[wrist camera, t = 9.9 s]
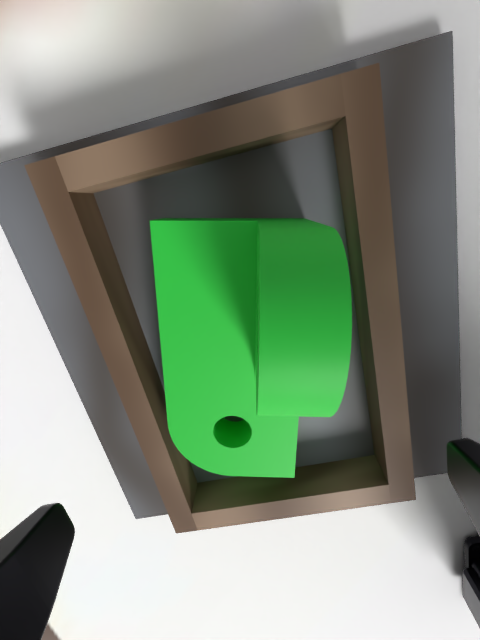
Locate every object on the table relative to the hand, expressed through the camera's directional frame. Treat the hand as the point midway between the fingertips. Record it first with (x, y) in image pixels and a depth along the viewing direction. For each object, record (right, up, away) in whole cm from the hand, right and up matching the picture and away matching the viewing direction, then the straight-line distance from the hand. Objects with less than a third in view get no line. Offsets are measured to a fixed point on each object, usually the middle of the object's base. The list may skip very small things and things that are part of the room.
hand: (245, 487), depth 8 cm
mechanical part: (0, +3, +9) cm, 9 cm away
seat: (0, +3, +9) cm, 9 cm away
